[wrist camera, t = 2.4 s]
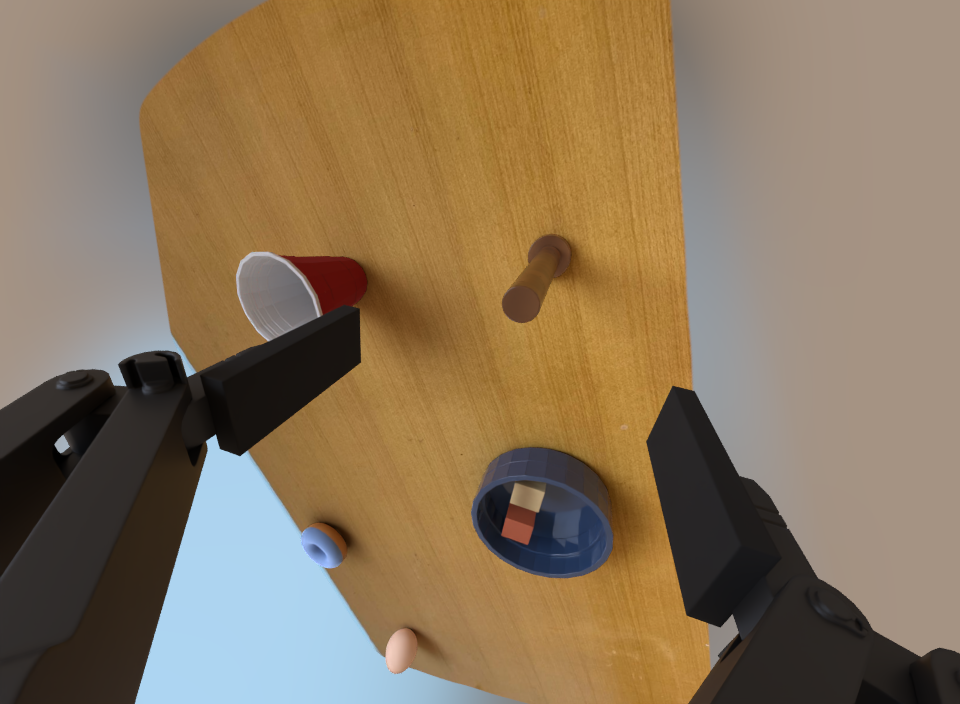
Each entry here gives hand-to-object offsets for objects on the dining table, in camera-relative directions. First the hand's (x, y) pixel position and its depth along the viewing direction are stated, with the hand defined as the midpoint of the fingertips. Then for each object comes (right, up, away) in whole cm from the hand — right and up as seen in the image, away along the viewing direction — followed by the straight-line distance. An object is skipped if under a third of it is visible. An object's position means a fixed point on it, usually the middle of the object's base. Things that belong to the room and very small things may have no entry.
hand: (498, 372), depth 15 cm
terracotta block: (+6, -23, +38) cm, 45 cm away
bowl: (+9, -20, +37) cm, 43 cm away
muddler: (+7, +11, +23) cm, 26 cm away
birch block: (+7, -17, +35) cm, 40 cm away
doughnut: (-32, -37, +58) cm, 76 cm away
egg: (-17, -63, +65) cm, 92 cm away
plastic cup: (-18, +10, +31) cm, 37 cm away
